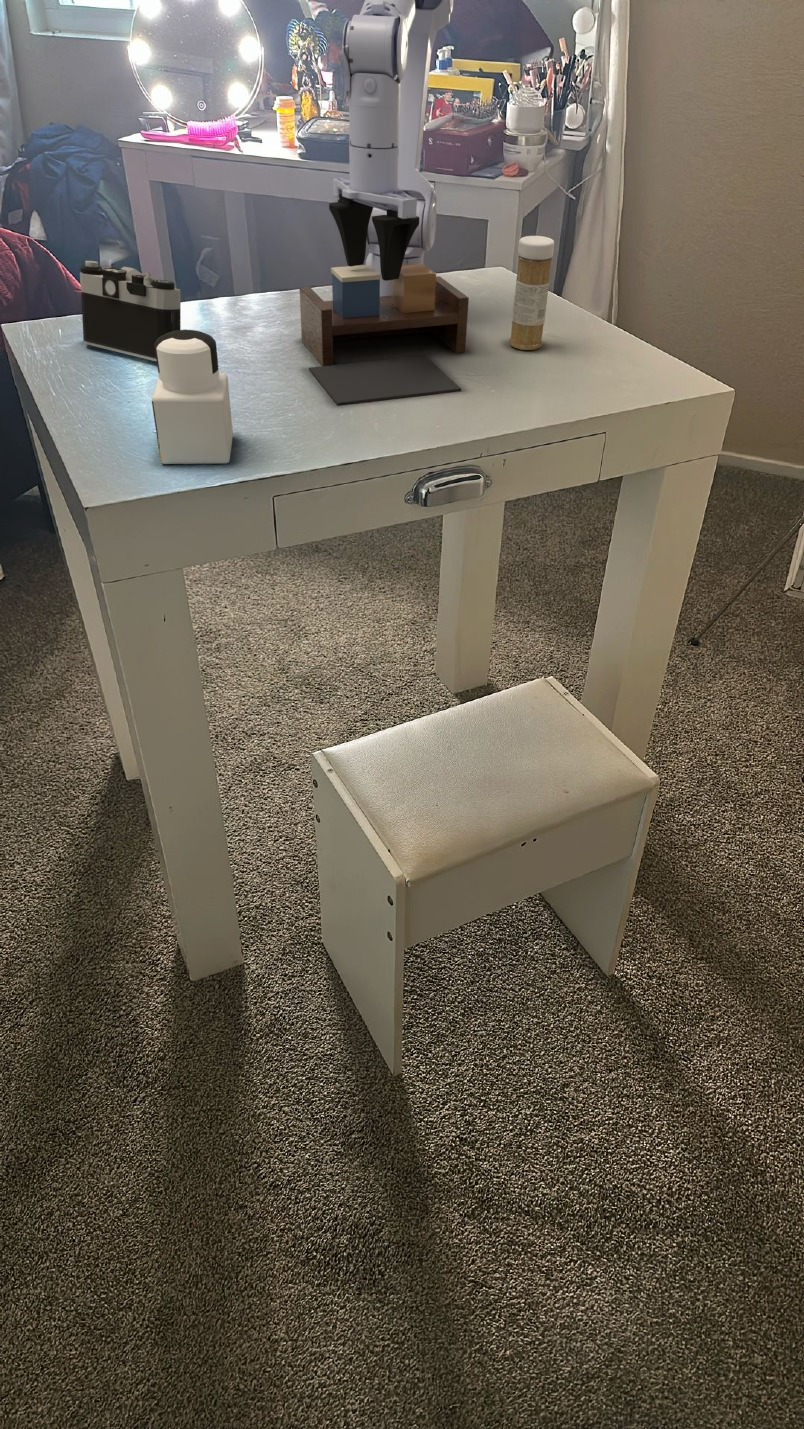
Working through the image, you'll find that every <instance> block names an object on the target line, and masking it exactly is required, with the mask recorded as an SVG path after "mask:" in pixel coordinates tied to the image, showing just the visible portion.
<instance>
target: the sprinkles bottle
mask: <svg viewBox="0 0 804 1429" xmlns="http://www.w3.org/2000/svg"><path fill="white" fill-rule="evenodd" d="M554 252H555V241H554V239H552V238H550V237H548V236H543V235H526V236H523V237H521V238H520V239H519V241H518V248H517V255H518V257H517V258H518V263H517V272H516V279H515V289H514V296H513V307H512V315H511V329H510V330H511V331H510V338H509V345H510V346H511V347H513V348H515V349H517V350H523V351H534V350H538V349H540V348H541V347H542V345H543V341H542V339H543V331H544V323H545V320H546V311H547V303H548V297H549V288H550V287H549V286H550V274H551V265H552V261H553V257H554V254H555V253H554Z"/></svg>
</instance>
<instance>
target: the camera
mask: <svg viewBox="0 0 804 1429" xmlns="http://www.w3.org/2000/svg"><path fill="white" fill-rule="evenodd" d="M84 263H85V264H82V265H81V266H80V272H79V281H80V297H81V312H82V313H81V315H82V316H81V318H82V335H83V338H82V339H83V342H82V343H83V344H85V345H88V346H92V347H96V348H100V349H105V350H109V351H111V352H112V351H113V352H116V353H121V354H124V355H128V356H133V357H137V358H140V359H144V360H149V361H153V362H157V360H156V353H155V346H154V344H155V342H156V340H157V339H158V338H159V337H160V336H162V335H164V334H166V333H168V332H172V331H177V330H182V328H181V325H182V324H181V323H182V322H181V309H182V308H181V300H182V299H181V289H179V288H175V286H176V285H175V282H174V281H171V280H166V279H153V277H152V272H144V273H145V274H143V273H142V272H140V271H138V270H137V269H136V268H134V267H129V266H123V267H121V268H117V267H112V266H109V267H108V266H107V267H102V266H99V262H98V261H94V260H85V261H84Z"/></svg>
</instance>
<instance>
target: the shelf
mask: <svg viewBox="0 0 804 1429" xmlns="http://www.w3.org/2000/svg"><path fill="white" fill-rule="evenodd" d="M469 300H470V298H469V296H467V295H466V294H465V293H463V292H462V291H460V290H459V289H458V288H456V286H454V285H452V284H451V283H449V282H448V281H447V280H445V279H444V278H443V277H441V276H436V289H435V309H434V311H423V312H412V313H403V312H402V311H400V310H399V309H398V308H397V307H396V306H395V305H394V304H392V296H381V297H380V315H379V316H368V317H356V318H345V319H343V318H342V317H341V316H340V315H339V314H338V313H337V312H336V311H335V310H334V309H333V300H323V299H322V298H321V297H320V296H319V294H317V293H316V292H315V291H314V290H313V288H312V287H310V286H299V310H300V330H301V331H300V332H301V343H303V345H304V346H305V348H306V349H307V350H308V351H309V352H310V354H312V355H313V357H314V358H315V359H316V360H317V361H318V363H319V364H320V366H330V365H334V342H333V341H341V340H352V339H362V338H373V337H382V336H383V337H384V336H394V335H403V334H404V335H405V334H415V333H423V332H431V333H432V334H433V335H434V336H435V337H437V338H438V339H439V340H440V341H441V342H443V344H445V345H446V346H447V347H448V348H450V349H451V350H452V351H453V352H454V353H456V354H459V353H465V352H466V343H467V330H468V316H469V314H468V312H469Z"/></svg>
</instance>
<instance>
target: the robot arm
mask: <svg viewBox="0 0 804 1429" xmlns="http://www.w3.org/2000/svg"><path fill="white" fill-rule="evenodd" d="M453 9H454V0H364V2H363V5H362V7H361V8H360V12H359V14H353V16H352V18H351V20H349V19H347V20H346V21H345V23H344V26H343V32H342V40H341V41H342V42H341V48H342V50H341V52H342V62H343V63H342V64H343V71H344V78H345V82H344V83H345V96H346V97H348V101H349V102H348V115H349V116H348V122H349V124H348V125H349V129H348V131H349V132H348V134H349V136H348V138H349V139H348V140H349V141H348V143H349V145H348V146H349V149H348V151H349V152H348V154H349V155H348V156H349V158H348V159H349V162H348V164H349V166H348V167H349V173H348V174H349V177H339V178H333V180H332V181H333V183H332V184H333V197H334V198H338V199H337V201H333V202H329V203H328V210H329V212H330V213H331V215H332V217H333V219H334V221H335V224H336V226H337V229H338V232H339V235H340V239H341V243H342V247H343V251H344V256H345V261H346V265H347V266H350V267H351V266H360V265H370V266H371V267H372V268H373V269H375V270H376V271H377V272H378V273H379V274H381V279H380V297H381V296H392V282H393V280H395V279H399V275H400V272H401V268H402V266H408V265H421V264H424V257H425V256H424V254H425V252H429V251H430V250H431V249H432V247H433V246H434V243H435V239H436V230H437V203H438V197H437V196H438V195H437V193H436V189H435V187H434V185H433V184H432V183H431V182H430V181H429V180H428V179H427V178H426V177H425V176H424V175H423V174H422V173H420V172H421V171H420V168H421V158H422V149H423V140H424V129H425V118H426V109H427V98H428V90H429V79H430V67H431V59H432V58H431V57H432V52H433V48H434V44H435V39H436V36H437V32H438V31H440V30H442V29H443V28H444V27H446V26H447V25H449V24H450V22H451V14H452V13H453ZM367 247H368V255H367V256H366V252H367ZM365 259H366V260H365Z"/></svg>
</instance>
